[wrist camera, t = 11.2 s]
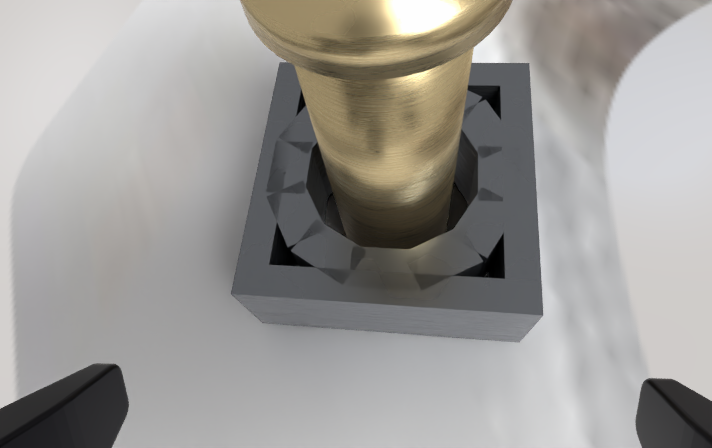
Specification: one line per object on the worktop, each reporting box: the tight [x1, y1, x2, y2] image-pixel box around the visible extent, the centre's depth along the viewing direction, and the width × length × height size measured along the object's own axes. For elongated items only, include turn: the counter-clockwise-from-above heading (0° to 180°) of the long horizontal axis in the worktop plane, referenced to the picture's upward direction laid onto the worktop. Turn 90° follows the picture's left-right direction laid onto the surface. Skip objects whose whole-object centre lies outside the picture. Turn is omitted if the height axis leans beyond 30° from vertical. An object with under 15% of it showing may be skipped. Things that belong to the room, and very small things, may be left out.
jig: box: [231, 63, 543, 342], centre depth 18 cm, size 9×9×4 cm
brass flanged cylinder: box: [240, 0, 512, 249], centre depth 14 cm, size 5×5×12 cm
